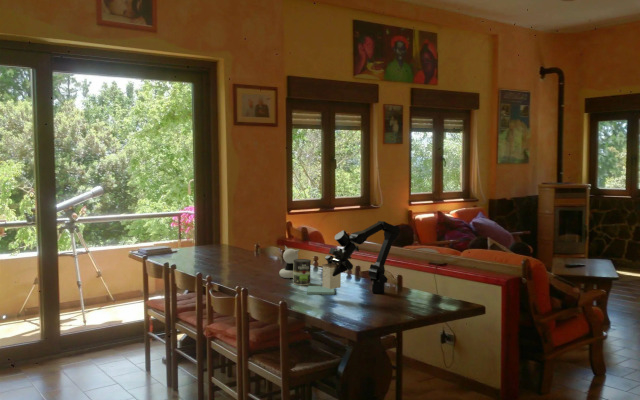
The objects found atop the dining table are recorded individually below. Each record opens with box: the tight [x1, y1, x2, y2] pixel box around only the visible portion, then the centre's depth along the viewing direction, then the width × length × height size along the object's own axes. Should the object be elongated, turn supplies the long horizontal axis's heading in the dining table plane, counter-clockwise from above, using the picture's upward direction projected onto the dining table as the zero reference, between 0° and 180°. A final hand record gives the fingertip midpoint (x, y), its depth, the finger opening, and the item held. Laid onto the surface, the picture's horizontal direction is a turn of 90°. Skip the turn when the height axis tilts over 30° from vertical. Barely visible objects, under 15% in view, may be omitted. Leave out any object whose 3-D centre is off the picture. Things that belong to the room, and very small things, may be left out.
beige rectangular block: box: [321, 263, 342, 289], centre depth 304 cm, size 7×7×12 cm
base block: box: [306, 285, 335, 296], centre depth 324 cm, size 15×15×2 cm
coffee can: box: [292, 258, 312, 286], centre depth 344 cm, size 10×10×14 cm
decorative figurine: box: [279, 245, 300, 279], centre depth 364 cm, size 15×15×20 cm
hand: (329, 274), depth 303 cm, fingers closed on beige rectangular block, 7 cm apart
